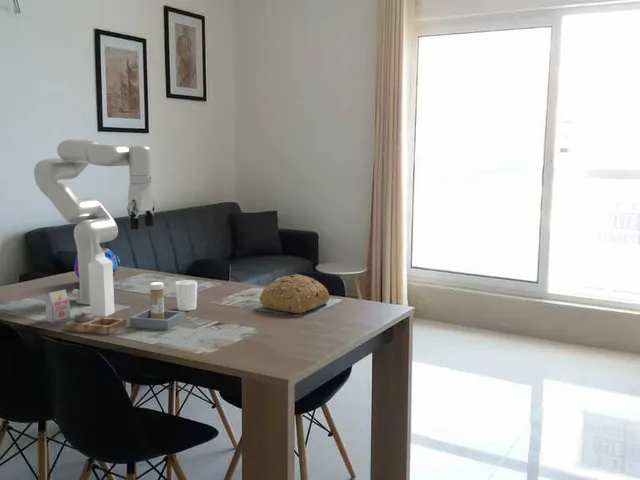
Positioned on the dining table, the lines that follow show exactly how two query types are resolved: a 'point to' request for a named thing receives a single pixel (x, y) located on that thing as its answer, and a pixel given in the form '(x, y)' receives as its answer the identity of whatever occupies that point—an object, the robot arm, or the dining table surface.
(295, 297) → the bread
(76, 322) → the holder
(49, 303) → the white food bag
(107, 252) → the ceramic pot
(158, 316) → the sprinkles bottle
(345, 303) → the dining table surface
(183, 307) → the white cup
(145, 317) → the tray
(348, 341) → the dining table surface
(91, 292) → the milk
